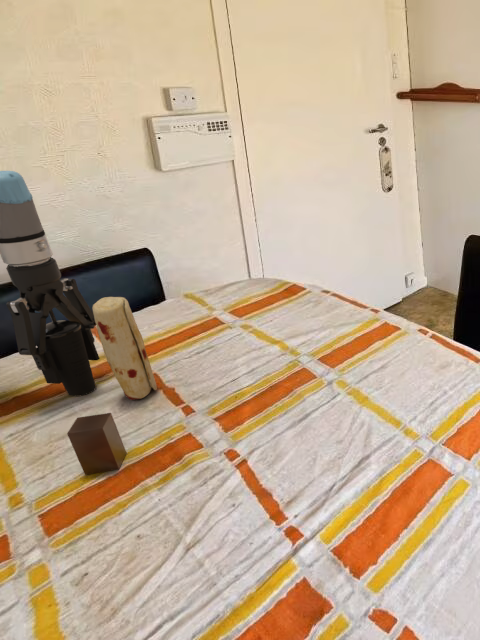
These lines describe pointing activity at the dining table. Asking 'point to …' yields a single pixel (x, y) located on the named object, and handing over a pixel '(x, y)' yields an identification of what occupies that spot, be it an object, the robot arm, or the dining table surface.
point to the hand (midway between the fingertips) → (74, 370)
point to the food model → (124, 346)
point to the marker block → (97, 443)
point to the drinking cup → (69, 355)
